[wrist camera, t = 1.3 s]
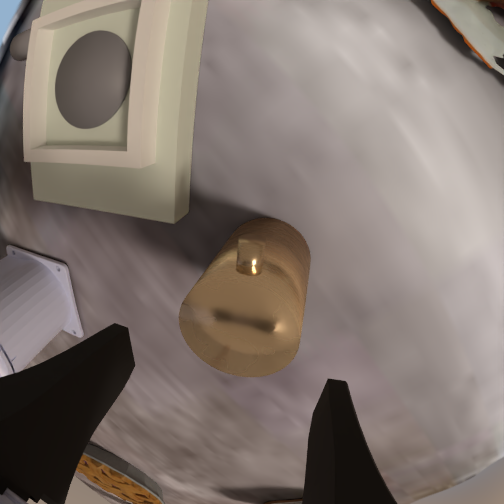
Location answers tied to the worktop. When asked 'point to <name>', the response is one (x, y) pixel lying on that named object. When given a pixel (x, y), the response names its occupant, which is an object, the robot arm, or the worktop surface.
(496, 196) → the worktop surface
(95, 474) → the pie
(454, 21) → the food on plate
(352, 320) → the worktop surface
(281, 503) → the tin
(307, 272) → the spout can
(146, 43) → the cream peg hole base
